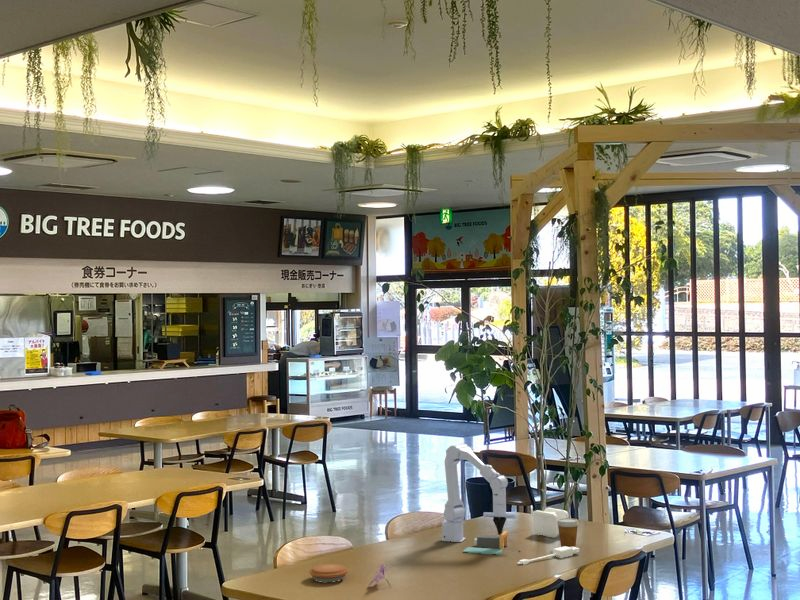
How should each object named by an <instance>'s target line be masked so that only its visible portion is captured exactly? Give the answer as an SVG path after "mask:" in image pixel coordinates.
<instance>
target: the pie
mask: <svg viewBox="0 0 800 600" xmlns="http://www.w3.org/2000/svg"><path fill="white" fill-rule="evenodd" d="M308 573H309V574H310V575H311V576H312V578H313V580H314V581H315V580H317V581H322V582H333V581H338V580H341V579H343V578H345V577H346V574H348V573H349V568H347V567H345V566H344V565H342V564H336V563H325V564H319V565H315V566H314V567H312V568H310V569H309V570H308ZM343 580H344V579H343Z"/></svg>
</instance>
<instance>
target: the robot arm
mask: <svg viewBox="0 0 800 600" xmlns="http://www.w3.org/2000/svg"><path fill="white" fill-rule="evenodd" d="M445 453H446V454H445V458H444V471H445V481H446V492H447V502H446V503H444V511H443V517H444V520H443V521H442V523H441V541H442V542H450V541H451V542H455V543H462V542H463V541H465V540H466V539H467V538H466V537H464V518H465V516H466V514H467V510H466V508H465V506H464V505H465V504H464V501H462V499H461V498H460V485H459V475H458V466H457V465H458V464H459V463H460V462H461V461H462V460H464V461H465V460H466V461H467V462H469V463H470V464H471V465H472V466H474V467H475V468H476V469H478V471H479V475H480V476H481V477H483V479H485V480H486V481H487V482H488V483H489V486H490V489H491V490H492V511H491V512H490V511H489V512H488V511H487V512H486V511H485V512H483V515H482V516H483V518H493V519H492V521H493V523H494V526H495V528H496V531H497V536H499V535H500V534H501V533H503V532H504V531H503V530H504V526H505V524H506V522H507V519H512V520H515V519H517V514H516V513H511V512H507V494H506V493H507V491H506V490H507V487H508V485H509V480H508V478H507V476H505V475H503V474H500V473H499V472H497V471H496V470H495V469H494V468H493V466H492V465H491V464H485V463H484V462H483V461H482V460H481V459H480V458H479V457H478V456H477V455H476V453H474V452H473V451H472V448H471V447H470V446H469V445H468V444H466V443H459V444H456V445H455V444H454V445H450V446H449V447H448V448H447V449H446V450H445ZM451 542H450V543H451Z"/></svg>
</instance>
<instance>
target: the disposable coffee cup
mask: <svg viewBox="0 0 800 600" xmlns="http://www.w3.org/2000/svg"><path fill="white" fill-rule="evenodd" d="M557 524H558V529H559V535H558V537H559V541H560V547H563V546H567V547H572V546H573V547H576V546H577V535H578V527H579V524H580V523H579V521H578V519H577V518H570V517H569V518H562V519H558V522H557Z"/></svg>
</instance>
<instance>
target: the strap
mask: <svg viewBox="0 0 800 600" xmlns="http://www.w3.org/2000/svg"><path fill="white" fill-rule="evenodd" d="M508 532H509V531H507V530H504V531H502V533H501V534H500V535H498V536H500V548H499V549H503V550H504V549H505V546H508V545H509V533H508Z"/></svg>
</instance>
